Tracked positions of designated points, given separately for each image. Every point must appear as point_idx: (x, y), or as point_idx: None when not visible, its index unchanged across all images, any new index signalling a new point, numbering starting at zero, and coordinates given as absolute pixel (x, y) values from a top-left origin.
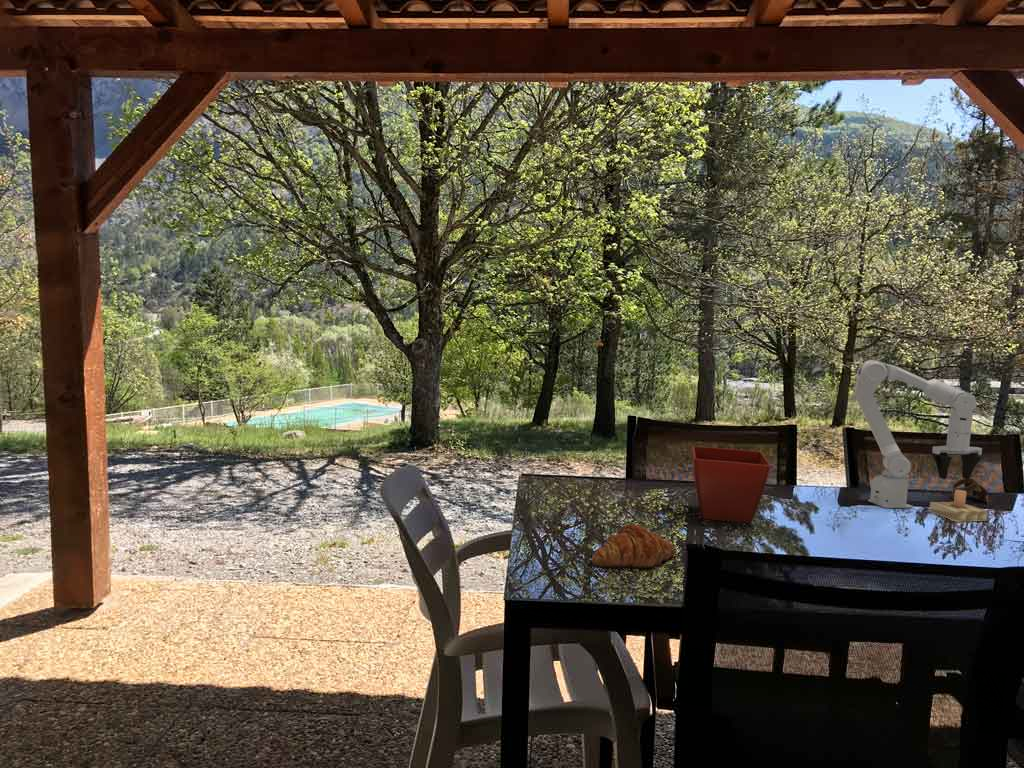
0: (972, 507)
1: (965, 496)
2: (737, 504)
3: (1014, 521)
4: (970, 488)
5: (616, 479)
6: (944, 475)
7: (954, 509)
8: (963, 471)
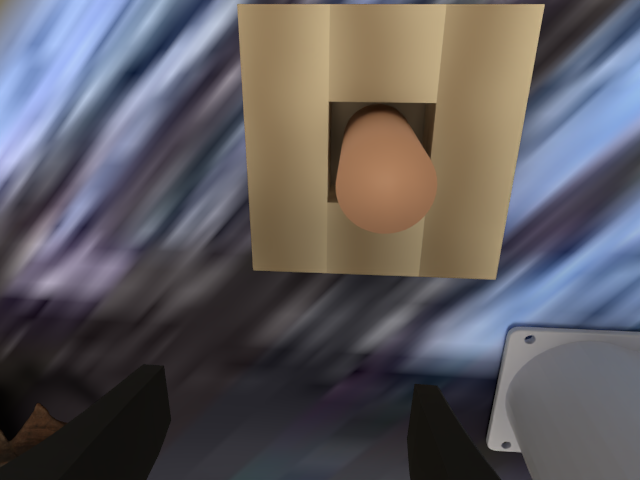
0: (280, 125)
1: (366, 132)
2: None
3: (32, 13)
4: (19, 449)
5: None
6: (451, 409)
7: (502, 68)
8: (141, 469)
